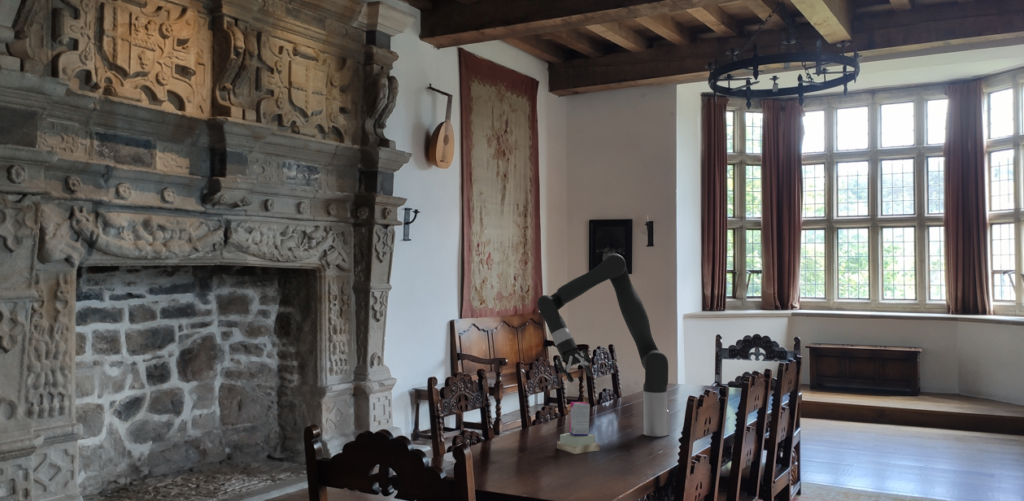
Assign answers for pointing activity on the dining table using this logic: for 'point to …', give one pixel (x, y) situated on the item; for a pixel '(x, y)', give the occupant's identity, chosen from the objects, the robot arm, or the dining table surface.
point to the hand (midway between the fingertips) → (581, 378)
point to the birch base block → (578, 448)
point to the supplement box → (579, 419)
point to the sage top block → (577, 439)
